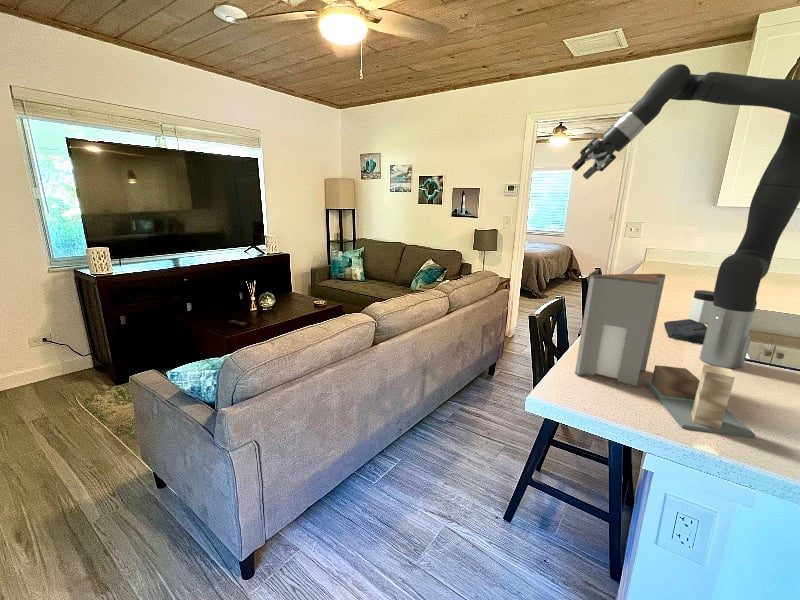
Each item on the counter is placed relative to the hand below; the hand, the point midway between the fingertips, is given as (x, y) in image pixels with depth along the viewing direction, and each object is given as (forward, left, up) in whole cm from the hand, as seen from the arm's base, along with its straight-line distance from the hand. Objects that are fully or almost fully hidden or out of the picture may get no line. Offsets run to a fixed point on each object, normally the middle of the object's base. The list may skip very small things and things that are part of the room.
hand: (579, 173), depth 124 cm
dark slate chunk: (-47, -9, -56) cm, 74 cm away
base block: (-20, +44, -54) cm, 72 cm away
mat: (-22, +50, -55) cm, 77 cm away
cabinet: (-10, +38, -55) cm, 68 cm away
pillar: (-21, +57, -54) cm, 81 cm away
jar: (-59, -27, -55) cm, 85 cm away
